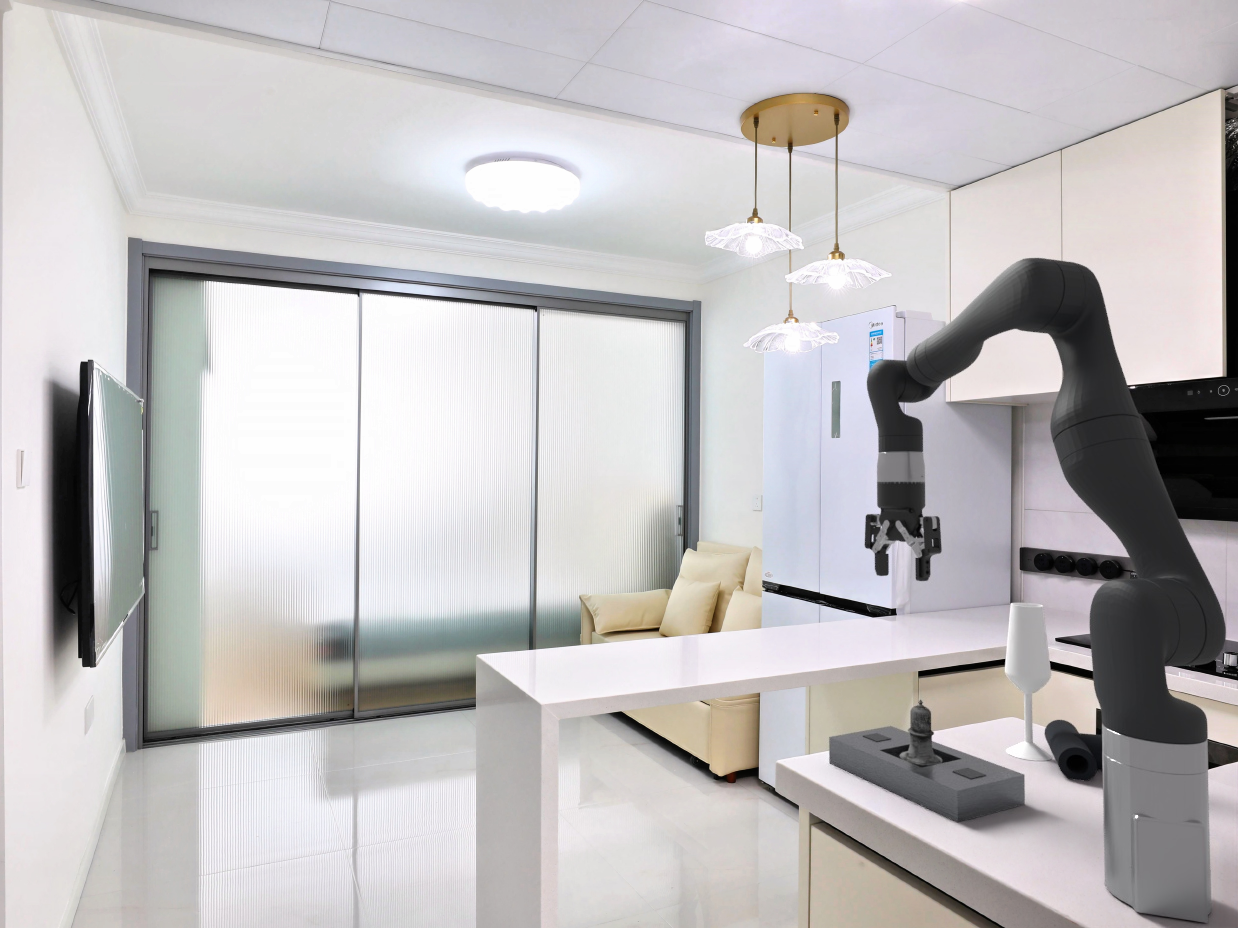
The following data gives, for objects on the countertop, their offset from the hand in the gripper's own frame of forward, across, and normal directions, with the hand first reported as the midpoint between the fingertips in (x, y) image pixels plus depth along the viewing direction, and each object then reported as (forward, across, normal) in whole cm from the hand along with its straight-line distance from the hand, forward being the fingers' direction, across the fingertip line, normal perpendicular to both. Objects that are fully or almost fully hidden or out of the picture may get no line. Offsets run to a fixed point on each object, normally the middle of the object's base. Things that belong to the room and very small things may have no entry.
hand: (901, 578), depth 128 cm
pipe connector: (+29, -18, -21) cm, 40 cm away
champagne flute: (+28, -10, -17) cm, 35 cm away
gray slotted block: (+28, -11, +8) cm, 31 cm away
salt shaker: (+28, -12, +8) cm, 32 cm away
